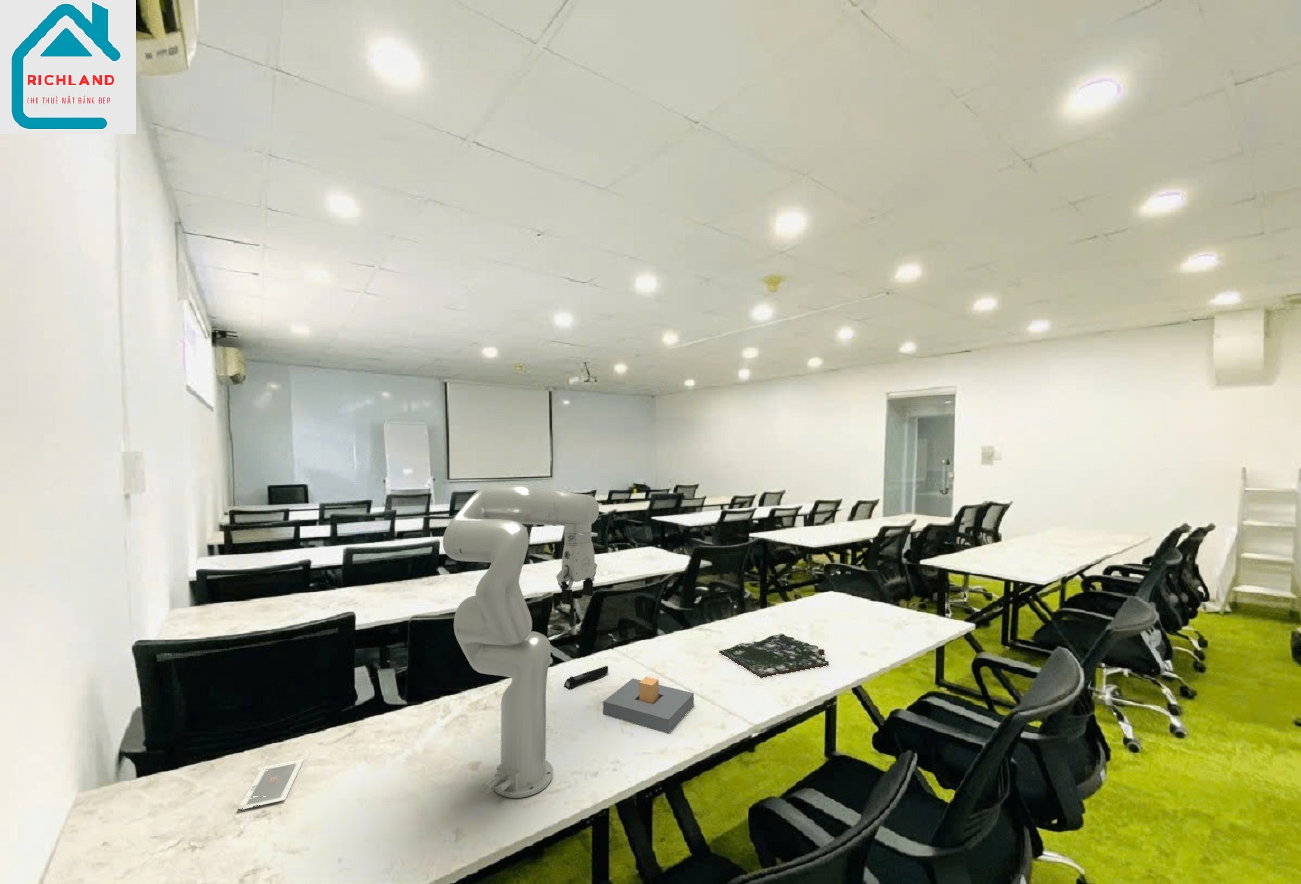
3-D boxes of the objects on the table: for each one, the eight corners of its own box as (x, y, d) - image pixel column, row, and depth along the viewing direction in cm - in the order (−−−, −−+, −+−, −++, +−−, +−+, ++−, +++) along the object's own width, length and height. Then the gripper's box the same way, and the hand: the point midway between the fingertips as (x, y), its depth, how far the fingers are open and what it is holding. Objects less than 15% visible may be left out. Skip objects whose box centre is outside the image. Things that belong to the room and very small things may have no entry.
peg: (652, 715, 133) (652, 685, 134) (639, 712, 135) (639, 682, 135) (658, 708, 137) (658, 679, 137) (645, 705, 139) (645, 676, 139)
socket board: (668, 733, 124) (668, 719, 125) (603, 714, 134) (603, 701, 134) (693, 705, 139) (693, 693, 139) (632, 690, 148) (632, 678, 148)
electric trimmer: (610, 677, 158) (611, 667, 158) (569, 691, 148) (569, 680, 148) (604, 673, 161) (604, 663, 161) (563, 687, 151) (563, 676, 151)
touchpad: (304, 763, 113) (304, 753, 114) (284, 805, 100) (285, 794, 100) (262, 772, 110) (262, 762, 110) (236, 816, 97) (237, 805, 97)
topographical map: (719, 655, 176) (719, 647, 176) (787, 639, 191) (787, 632, 191) (768, 684, 153) (768, 674, 153) (841, 663, 168) (841, 655, 168)
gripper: (569, 544, 129) (569, 609, 129) (606, 535, 145) (606, 593, 144) (547, 541, 133) (547, 605, 132) (585, 533, 148) (585, 590, 147)
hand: (577, 599), depth 138 cm, fingers open, 9 cm apart
